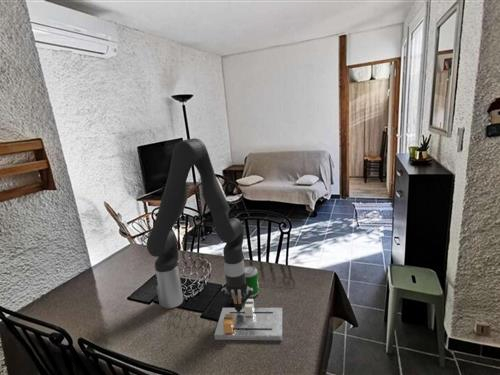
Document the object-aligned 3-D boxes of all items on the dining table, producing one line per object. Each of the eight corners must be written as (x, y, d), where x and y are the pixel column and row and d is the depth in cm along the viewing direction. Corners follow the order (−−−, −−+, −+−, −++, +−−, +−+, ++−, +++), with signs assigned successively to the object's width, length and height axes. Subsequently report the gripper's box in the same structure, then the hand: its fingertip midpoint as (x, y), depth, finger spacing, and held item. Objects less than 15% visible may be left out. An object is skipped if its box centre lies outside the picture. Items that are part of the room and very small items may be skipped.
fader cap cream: (245, 316, 113) (244, 306, 112) (246, 307, 117) (245, 298, 116) (253, 316, 112) (252, 306, 111) (254, 307, 117) (253, 297, 116)
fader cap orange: (223, 332, 105) (222, 322, 104) (226, 323, 110) (225, 313, 109) (232, 333, 104) (231, 322, 103) (234, 323, 109) (233, 313, 108)
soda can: (257, 299, 126) (255, 274, 123) (240, 298, 128) (238, 273, 125) (260, 288, 133) (258, 265, 130) (244, 288, 135) (242, 264, 132)
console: (214, 341, 105) (213, 336, 104) (223, 311, 120) (222, 307, 119) (282, 342, 102) (281, 337, 101) (282, 312, 117) (282, 307, 116)
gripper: (215, 276, 108) (220, 316, 112) (251, 275, 106) (254, 317, 111) (219, 265, 115) (224, 304, 120) (253, 265, 114) (256, 304, 118)
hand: (239, 310), depth 115 cm, fingers closed
